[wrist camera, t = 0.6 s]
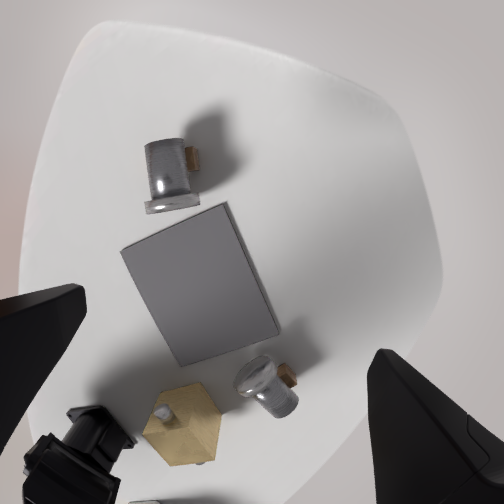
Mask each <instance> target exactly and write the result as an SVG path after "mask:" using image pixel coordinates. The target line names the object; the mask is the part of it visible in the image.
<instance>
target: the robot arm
mask: <svg viewBox="0 0 504 504" xmlns="http://www.w3.org/2000/svg"><path fill="white" fill-rule="evenodd" d="M86 313H87V305H86V296H85V289H84V287H83V286H81V285H77V284H74V283H71V284H66V285H62V286H58V287H53V288H49V289H44V290H40V291H36V292H31V293H27V294H23V295H19V296H14V297H10V298H6V299H2V300H0V455H1V453H2V452H3V449H4V447H5V446H6V444H7V442H8V440H9V438H10V437H11V435H12V433H13V432H14V430H15V428H16V427H17V425H18V423H19V422H20V420H21V418H22V416H23V415H24V413H25V412H26V410H27V408H28V407H29V405H30V404H31V402H32V400H33V399H34V397H35V396H36V394H37V392H38V391H39V389H40V388H41V386H42V385H43V383H44V382H45V380H46V379H47V377H48V376H49V374H50V373H51V371H52V370H53V368H54V367H55V365H56V364H57V362H58V361H59V360H60V358H61V357H62V355H63V354H64V352H65V351H66V349H67V347H68V346H69V344H70V342H71V340H72V339H73V337H74V335H75V333H76V331H77V330H78V328H79V326H80V325H81V323H82V321H83V319H84V318H85V316H86ZM367 391H368V421H369V430H370V438H371V447H372V455H373V465H374V475H375V489H376V501H377V502H376V503H377V504H504V442H503V441H501V440H500V439H499V438H498V437H496V436H495V435H494V434H492V433H491V432H490V431H488V430H487V429H486V428H485V427H483V426H482V425H481V424H480V423H479V422H477V421H476V420H475V419H474V418H473V417H471V416H470V415H467V412H465V411H464V410H463V409H462V408H461V407H460V406H458V405H457V404H456V403H455V402H454V401H453V400H451V399H450V398H449V397H448V396H447V395H446V394H444V393H443V392H442V391H441V390H440V389H438V388H437V387H436V386H435V385H434V384H432V383H431V382H430V381H429V380H428V379H427V378H425V377H424V376H423V375H422V374H421V373H419V372H418V371H417V370H416V369H415V368H413V367H412V366H411V365H410V364H409V363H407V362H406V361H405V360H404V359H403V358H401V357H400V356H399V355H398V354H397V353H395V352H394V351H393V350H391V349H382V348H381V349H379V350H378V351H377V352H376V354H375V357H374V359H373V361H372V363H371V365H370V367H369V369H368V373H367ZM66 414H67V416H68V418H69V419H70V420H71V421H72V423H73V425H72V427H71V428H70V430H69V431H68V432H67V434H66V435H65V437H64V438H63V440H62V441H60V440H59V439H58V438H56V437H55V435H53V434H52V433H51V432H50V434H49V435H48V436H45V435H42V436H41V437H40V439H39V440H38V441H37V443H36V444H35V445H34V446H33V447H32V448H31V449H30V450H29V451H28V452H27V453H26V454H25V456H24V461H25V465H24V467H25V468H24V471H23V473H24V474H25V475H26V476H28V477H27V479H26V480H25V482H24V484H23V487H22V488H23V489H22V499H23V504H115V500H116V496H117V493H118V489H119V485H120V482H121V479H119V478H118V477H114V476H113V475H111V474H109V473H110V471H111V469H112V467H113V465H114V462H116V461H117V459H118V457H119V455H120V453H121V451H122V449H132V448H133V447H134V443H133V442H132V441H131V439H130V438H129V437H128V436H127V435H126V434H125V432H124V431H123V430H122V429H121V427H120V426H119V425H118V424H117V423H116V421H115V420H114V419H113V417H112V416H111V415H110V414H109V412H108V411H107V410H106V408H105V407H103V406H96V407H90V408H84V409H77V410H70V411H68V412H67V413H66Z"/></svg>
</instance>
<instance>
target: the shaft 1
mask: <svg viewBox="0 0 504 504" xmlns="http://www.w3.org/2000/svg"><path fill="white" fill-rule="evenodd" d="M144 147H145V155H146V163H147V171H148V178H149V185H150V192H151V198H152V201H147V202H144V203H145V209H146V214H154V213H161V212H166V211H172V210H178V209H183V208H188V207H193V206H197V205H200V198H199V192H197V193H191V190H190V183H189V176H188V172H191V171H197V170H200V168H199V161H198V154H197V149H196V148H195V147H193V146H192V147H187V148H185V146H184V139H181V138H172V139H164V140H159V141H154V142H151V143H148V144H146V145H145V146H144Z"/></svg>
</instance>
